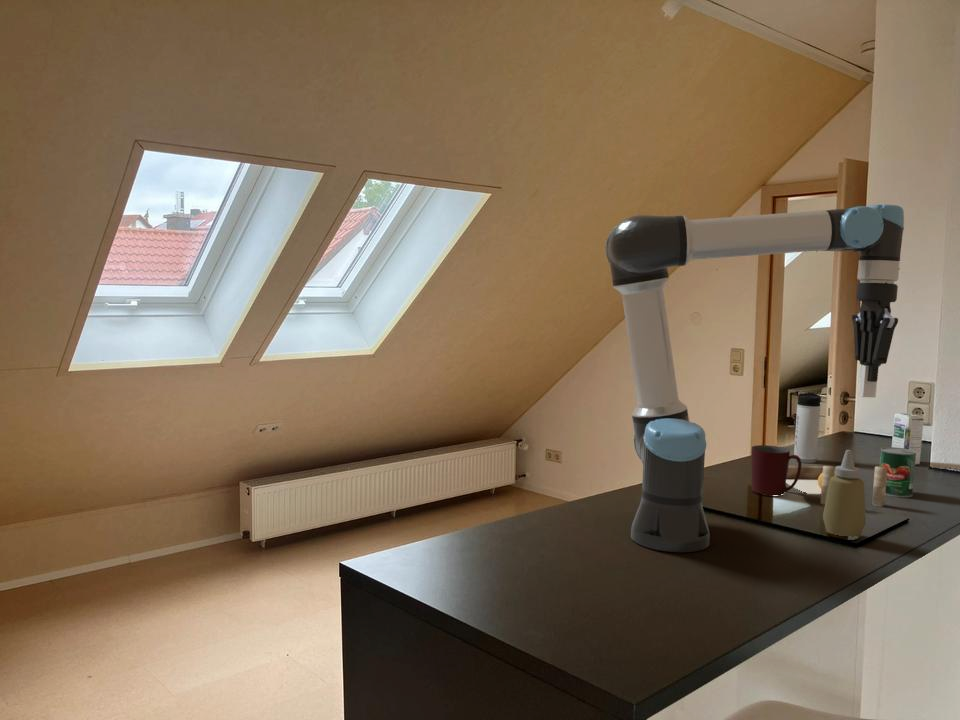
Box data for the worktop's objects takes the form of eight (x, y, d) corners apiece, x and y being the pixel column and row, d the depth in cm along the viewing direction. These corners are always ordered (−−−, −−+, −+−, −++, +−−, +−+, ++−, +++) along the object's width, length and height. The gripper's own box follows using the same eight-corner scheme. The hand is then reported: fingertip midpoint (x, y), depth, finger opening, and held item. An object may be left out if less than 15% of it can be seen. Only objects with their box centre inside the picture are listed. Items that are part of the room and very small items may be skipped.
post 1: (823, 506, 186) (826, 468, 185) (818, 502, 189) (820, 465, 188) (834, 506, 186) (837, 468, 185) (829, 503, 189) (831, 465, 188)
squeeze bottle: (869, 545, 158) (876, 456, 156) (826, 541, 160) (832, 453, 158) (858, 532, 166) (864, 447, 164) (817, 529, 168) (823, 445, 166)
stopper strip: (774, 478, 212) (774, 467, 212) (770, 476, 214) (771, 465, 214) (832, 479, 213) (833, 468, 213) (828, 477, 215) (829, 466, 215)
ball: (818, 465, 199) (812, 479, 202) (824, 482, 195) (818, 497, 198) (841, 466, 199) (834, 480, 202) (847, 483, 194) (840, 497, 198)
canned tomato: (881, 495, 197) (885, 452, 196) (874, 488, 204) (877, 446, 203) (916, 498, 195) (920, 454, 194) (907, 490, 203) (911, 448, 202)
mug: (805, 495, 195) (808, 451, 194) (791, 502, 188) (794, 456, 187) (758, 486, 203) (760, 443, 202) (742, 492, 197) (745, 448, 196)
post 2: (875, 506, 187) (878, 468, 186) (869, 503, 189) (872, 466, 188) (886, 506, 187) (889, 469, 186) (880, 503, 190) (883, 466, 189)
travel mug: (818, 460, 236) (822, 393, 234) (814, 464, 231) (819, 395, 229) (796, 457, 240) (800, 391, 238) (791, 461, 234) (796, 393, 232)
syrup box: (889, 461, 238) (893, 413, 236) (905, 460, 240) (908, 412, 238) (904, 465, 232) (908, 416, 231) (920, 464, 234) (924, 415, 233)
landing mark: (805, 494, 196) (805, 493, 196) (781, 480, 210) (781, 479, 210) (860, 494, 197) (860, 494, 197) (832, 480, 211) (832, 480, 211)
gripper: (914, 283, 156) (903, 402, 158) (876, 282, 169) (866, 392, 171) (878, 281, 155) (867, 401, 158) (842, 281, 168) (833, 391, 171)
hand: (867, 396), depth 164 cm, fingers closed
